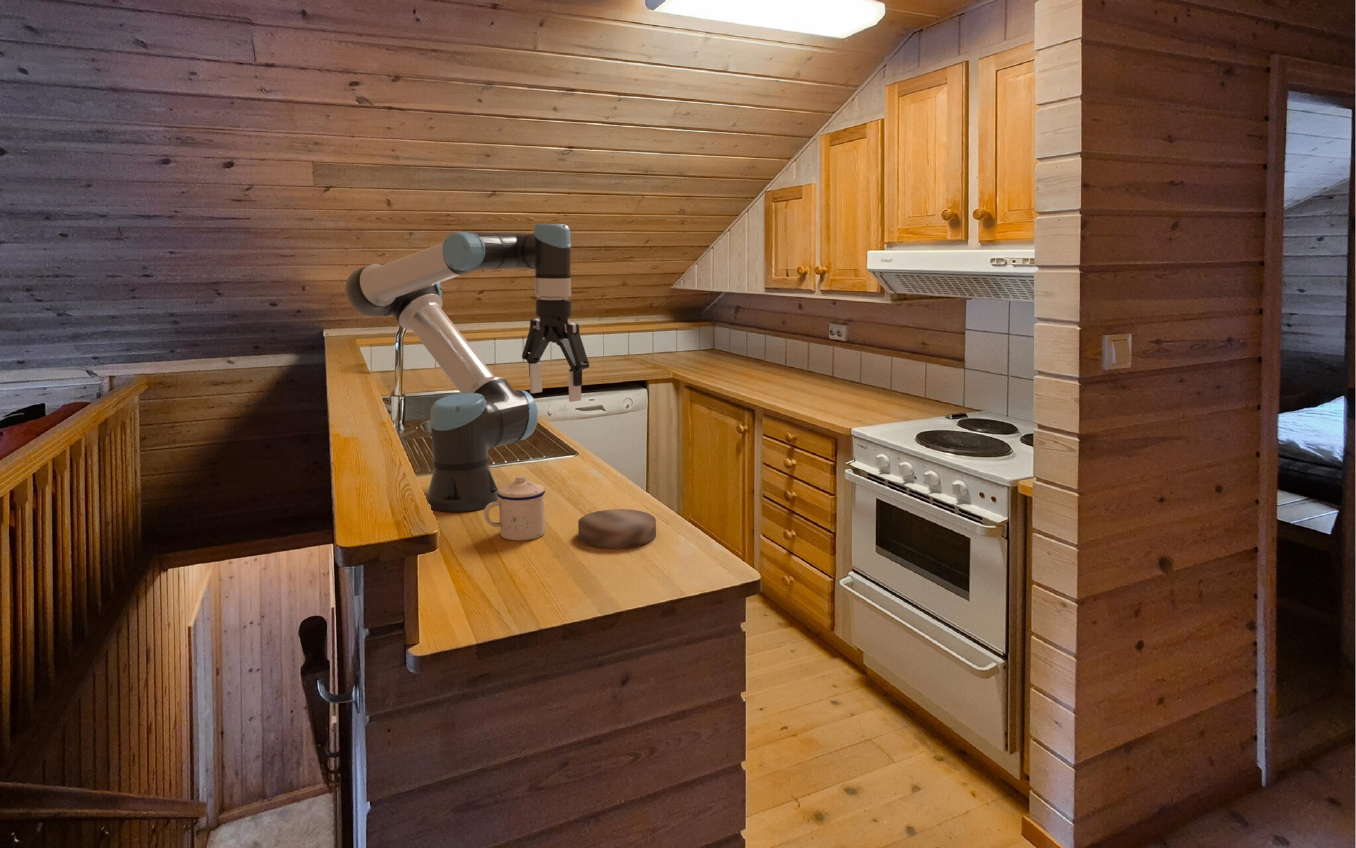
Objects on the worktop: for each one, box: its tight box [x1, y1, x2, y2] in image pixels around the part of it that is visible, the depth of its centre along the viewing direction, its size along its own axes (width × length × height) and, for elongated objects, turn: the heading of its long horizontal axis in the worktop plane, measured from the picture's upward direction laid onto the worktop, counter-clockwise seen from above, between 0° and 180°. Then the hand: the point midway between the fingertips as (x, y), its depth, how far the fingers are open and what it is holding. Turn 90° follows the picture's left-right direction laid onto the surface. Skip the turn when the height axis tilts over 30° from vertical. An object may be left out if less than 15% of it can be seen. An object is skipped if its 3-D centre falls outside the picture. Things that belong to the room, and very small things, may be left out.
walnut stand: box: [577, 508, 657, 550], centre depth 165 cm, size 15×15×3 cm
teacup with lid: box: [483, 475, 546, 542], centre depth 164 cm, size 12×9×12 cm
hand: (555, 396), depth 185 cm, fingers open, 13 cm apart
